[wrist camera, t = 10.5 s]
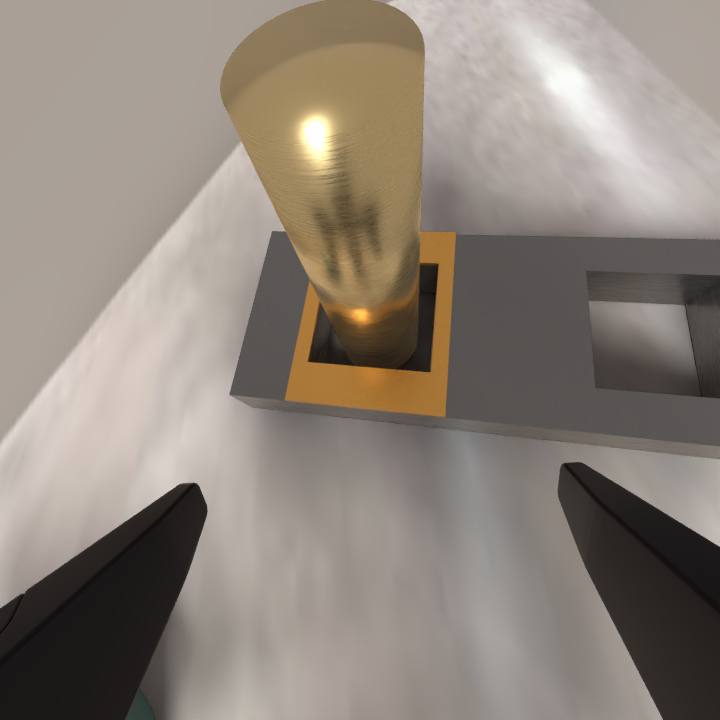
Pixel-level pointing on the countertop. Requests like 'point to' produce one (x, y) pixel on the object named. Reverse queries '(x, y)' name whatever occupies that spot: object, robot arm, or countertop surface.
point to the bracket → (140, 709)
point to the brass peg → (342, 159)
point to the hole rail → (500, 342)
